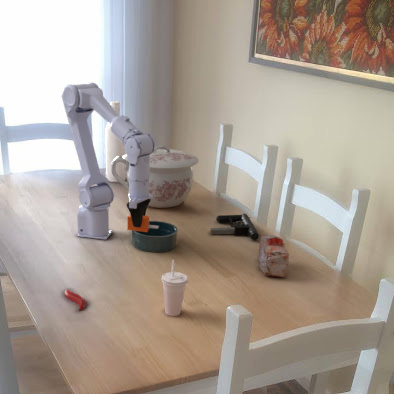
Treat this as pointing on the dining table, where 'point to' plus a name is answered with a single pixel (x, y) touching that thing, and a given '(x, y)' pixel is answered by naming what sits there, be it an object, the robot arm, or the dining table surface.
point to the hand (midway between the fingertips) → (138, 224)
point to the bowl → (156, 237)
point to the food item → (273, 256)
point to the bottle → (114, 149)
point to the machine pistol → (236, 226)
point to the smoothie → (174, 291)
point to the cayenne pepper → (76, 299)
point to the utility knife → (144, 225)
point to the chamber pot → (165, 176)
